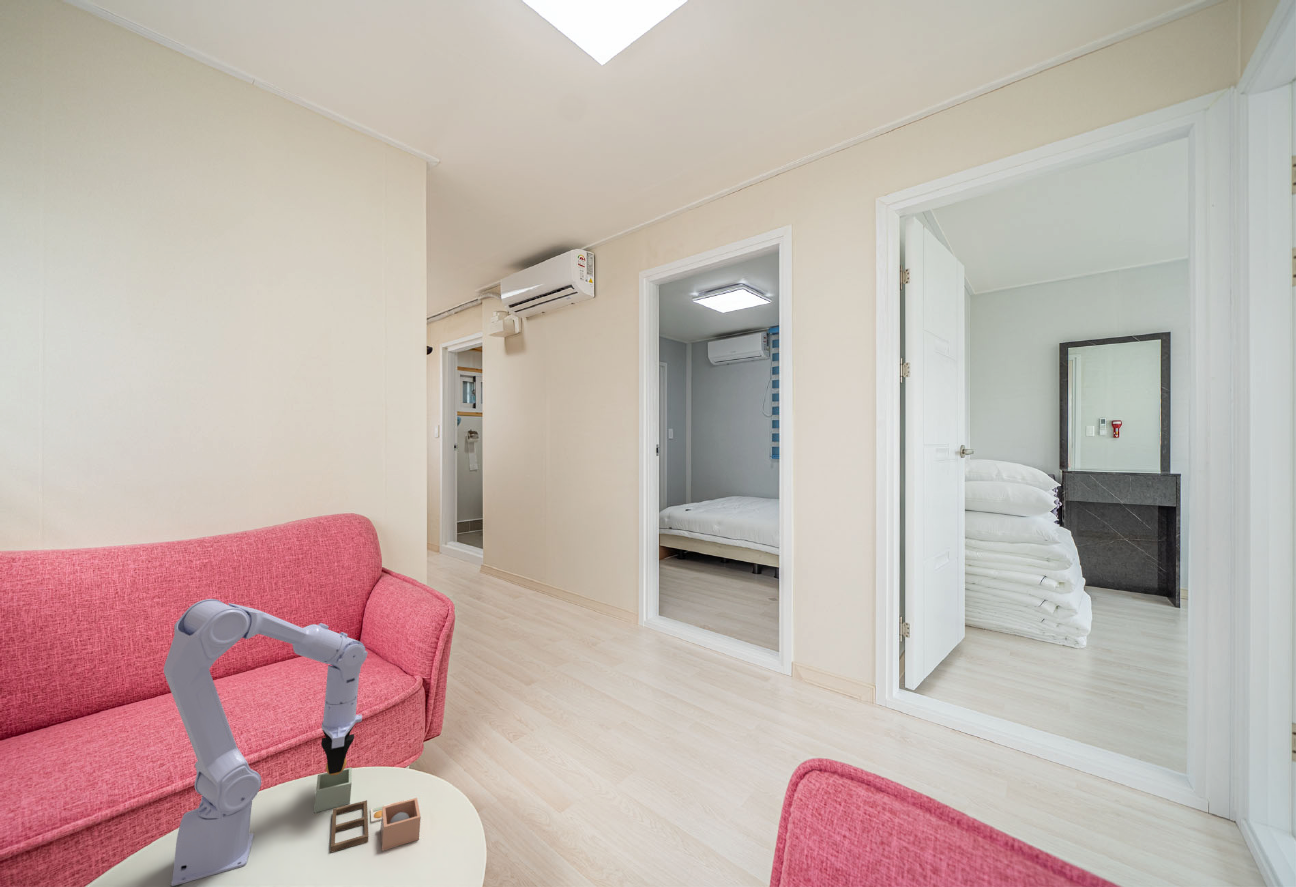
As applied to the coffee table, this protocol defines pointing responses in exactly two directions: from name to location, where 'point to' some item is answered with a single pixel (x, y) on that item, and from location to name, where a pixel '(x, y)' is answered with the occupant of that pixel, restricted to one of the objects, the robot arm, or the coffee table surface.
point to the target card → (378, 812)
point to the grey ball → (399, 817)
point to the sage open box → (333, 790)
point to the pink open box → (400, 824)
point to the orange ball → (337, 772)
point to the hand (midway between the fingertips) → (335, 766)
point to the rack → (349, 826)
